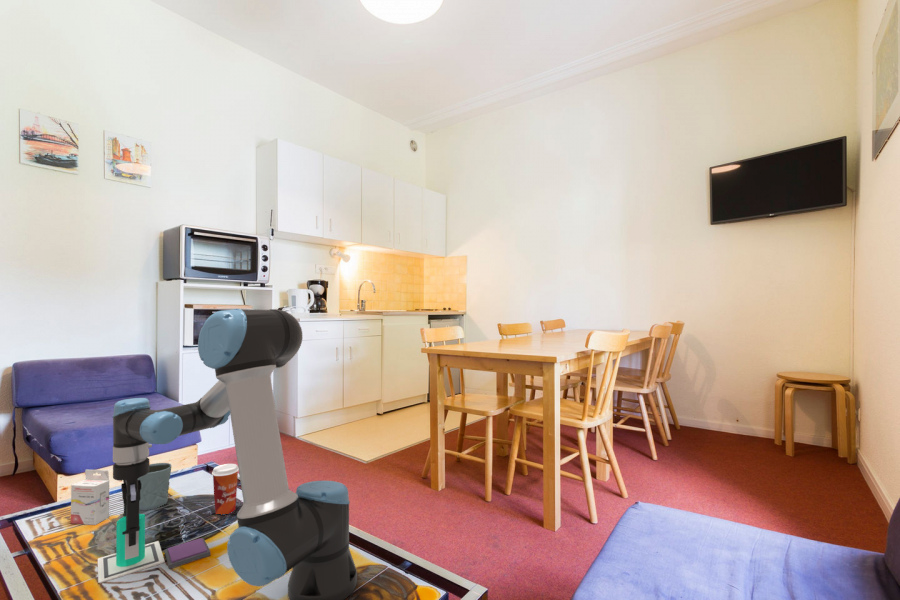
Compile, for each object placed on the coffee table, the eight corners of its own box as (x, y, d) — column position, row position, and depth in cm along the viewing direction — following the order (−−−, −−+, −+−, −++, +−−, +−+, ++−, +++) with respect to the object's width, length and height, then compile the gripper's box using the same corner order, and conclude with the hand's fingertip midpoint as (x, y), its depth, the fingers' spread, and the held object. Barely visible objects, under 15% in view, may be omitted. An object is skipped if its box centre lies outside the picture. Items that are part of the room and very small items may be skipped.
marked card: (164, 562, 109) (164, 561, 109) (98, 583, 101) (98, 582, 101) (158, 541, 119) (158, 540, 119) (97, 559, 111) (97, 558, 111)
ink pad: (210, 555, 112) (210, 550, 112) (169, 569, 106) (169, 563, 106) (203, 541, 119) (203, 536, 119) (164, 553, 113) (164, 548, 113)
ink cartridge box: (69, 524, 130) (69, 474, 130) (84, 516, 135) (85, 468, 135) (95, 525, 129) (95, 475, 129) (110, 517, 134) (110, 469, 134)
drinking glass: (126, 509, 139) (126, 471, 140) (155, 496, 149) (156, 461, 149) (150, 513, 136) (150, 474, 137) (178, 499, 146) (178, 463, 146)
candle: (129, 568, 106) (130, 518, 107) (109, 565, 108) (110, 516, 108) (151, 554, 112) (151, 507, 113) (131, 552, 113) (132, 506, 114)
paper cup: (218, 520, 131) (218, 473, 132) (207, 513, 136) (207, 468, 136) (244, 510, 137) (244, 466, 138) (232, 504, 142) (232, 461, 142)
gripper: (153, 466, 106) (152, 562, 105) (145, 448, 120) (145, 533, 119) (114, 474, 101) (113, 574, 101) (111, 454, 115) (110, 543, 115)
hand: (130, 552), depth 110 cm, fingers open, 5 cm apart
